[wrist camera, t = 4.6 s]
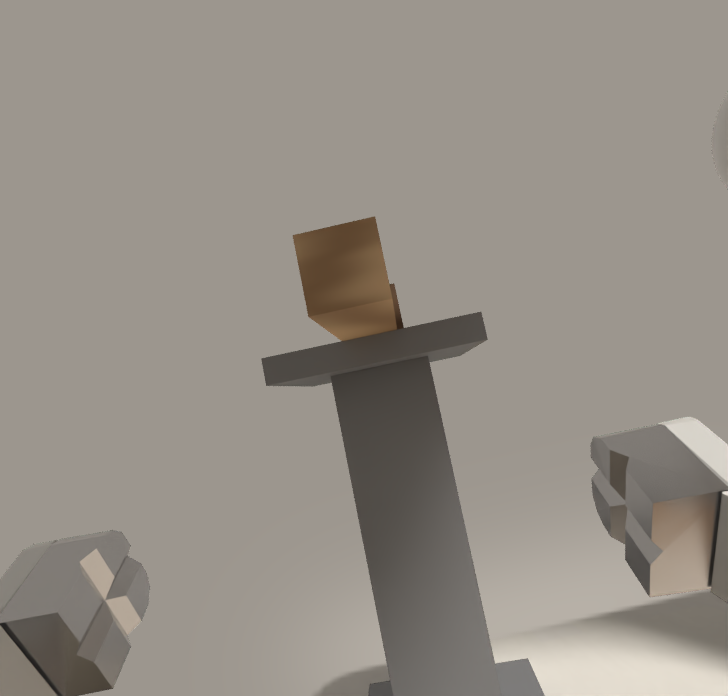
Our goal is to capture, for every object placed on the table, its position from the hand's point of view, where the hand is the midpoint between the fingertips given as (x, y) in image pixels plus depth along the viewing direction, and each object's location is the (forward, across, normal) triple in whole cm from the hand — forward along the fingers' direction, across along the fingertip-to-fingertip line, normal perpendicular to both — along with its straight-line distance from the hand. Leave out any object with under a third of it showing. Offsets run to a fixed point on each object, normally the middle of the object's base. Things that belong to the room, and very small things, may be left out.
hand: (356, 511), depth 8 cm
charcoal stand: (+10, 0, +30) cm, 32 cm away
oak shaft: (+18, 0, +5) cm, 19 cm away
